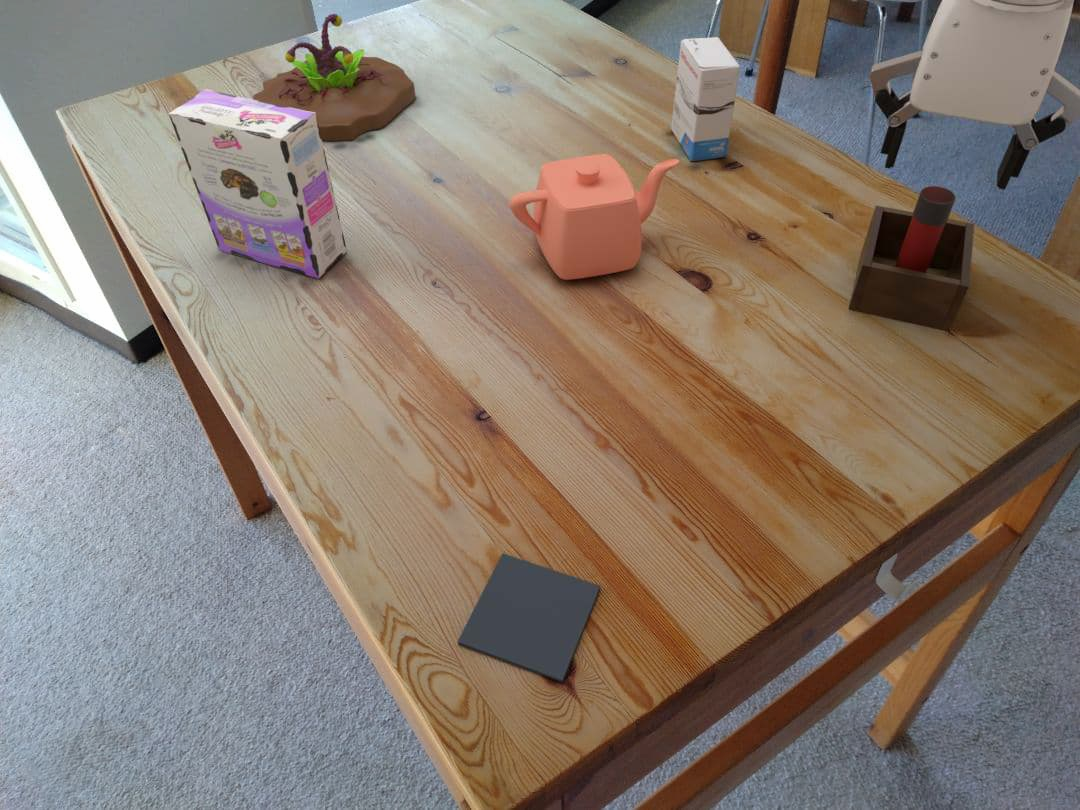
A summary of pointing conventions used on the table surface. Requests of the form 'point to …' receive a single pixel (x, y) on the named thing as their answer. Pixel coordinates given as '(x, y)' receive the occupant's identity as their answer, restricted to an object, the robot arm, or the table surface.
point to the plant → (340, 88)
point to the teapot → (589, 214)
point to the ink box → (704, 98)
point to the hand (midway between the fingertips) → (944, 170)
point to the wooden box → (912, 273)
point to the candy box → (262, 180)
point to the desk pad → (530, 617)
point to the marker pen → (925, 228)
